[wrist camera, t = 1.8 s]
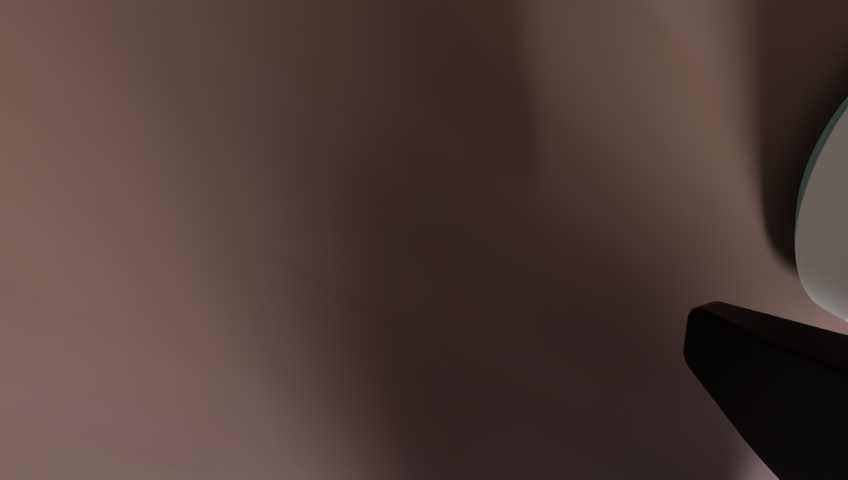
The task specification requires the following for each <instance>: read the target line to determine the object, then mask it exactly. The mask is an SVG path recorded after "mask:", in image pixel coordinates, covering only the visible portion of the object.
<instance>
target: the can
mask: <svg viewBox="0 0 848 480" xmlns="http://www.w3.org/2000/svg"><path fill="white" fill-rule="evenodd" d="M795 255H796V265H797V270H798V275H799V278H800V280H801V283H802V285H803V287H804V289H805V291H806V293H807V294H808V295H809V297H810V298H811V299H812V300H813V301H814V302H815V303H816V304H817V305H819V306H820V307H822V308H824V309H825V310H827V311H829V312H831V313H832V314H834V315H836V316H838V317H840V318H841V319H843V320H845V321H847V322H848V96H847V98H846V99H845V100H844V101H843V103H842V104H841V105H840V107H839V108H838V109H837V111H836V112H835V113H834V115H833V116H832V118H831V119H830V121H829V122H828V124H827V126H826V127H825V129H824V131H823V132H822V134H821V136H820V138H819V139H818V141H817V143H816V145H815V147H814V149H813V152H812V154H811V156H810V158H809V161H808V163H807V166H806V169H805V172H804V174H803V177H802V181H801V185H800V188H799V193H798V199H797V206H796V224H795Z"/></svg>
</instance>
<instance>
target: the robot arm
mask: <svg viewBox="0 0 848 480" xmlns="http://www.w3.org/2000/svg"><path fill="white" fill-rule="evenodd" d="M683 353H684V358H685V361H686V363H687V365H688V367H689V368H690V370H691V371H692V372H693V373H694V375H695V376H696V377H697V379H698V380H699V381H700V383H701V384H702V385H703V386H704V388H705V389H706V390H707V392H708V393H709V394H710V396H711V397H712V398H713V399H714V401H715V402H716V403H717V405H718V406H719V407H720V409H721V410H722V411H723V412H724V414H725V415H726V416H727V418H728V419H729V420H730V422H731V423H732V424H733V426H734V427H735V428H736V429H737V431H738V432H739V433H740V435H741V436H742V437H743V438H744V440H745V441H746V442H747V443H748V445H749V446H750V447H751V448H752V450H753V451H754V452H755V453H756V454H757V455H758V456H759V458H760V459H761V460H762V461H763V462H764V463H765V464H766V465H767V467H768V468H769V469H770V470H771V471H772V472H773V473H774V474H775V475H776V476H777V477H778V478H779V480H848V335H845V334H841V333H837V332H833V331H830V330H826V329H822V328H818V327H814V326H811V325H807V324H803V323H799V322H796V321H792V320H788V319H784V318H780V317H777V316H773V315H769V314H765V313H761V312H758V311H754V310H750V309H746V308H743V307H739V306H735V305H731V304H727V303H724V302H719V301H714V302H710V303H707V304H703V305H700V306H697V307H695V308H693V309H692V310H691V311H690V313H689V314H688V319H687V326H686V334H685V341H684V348H683Z"/></svg>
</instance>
